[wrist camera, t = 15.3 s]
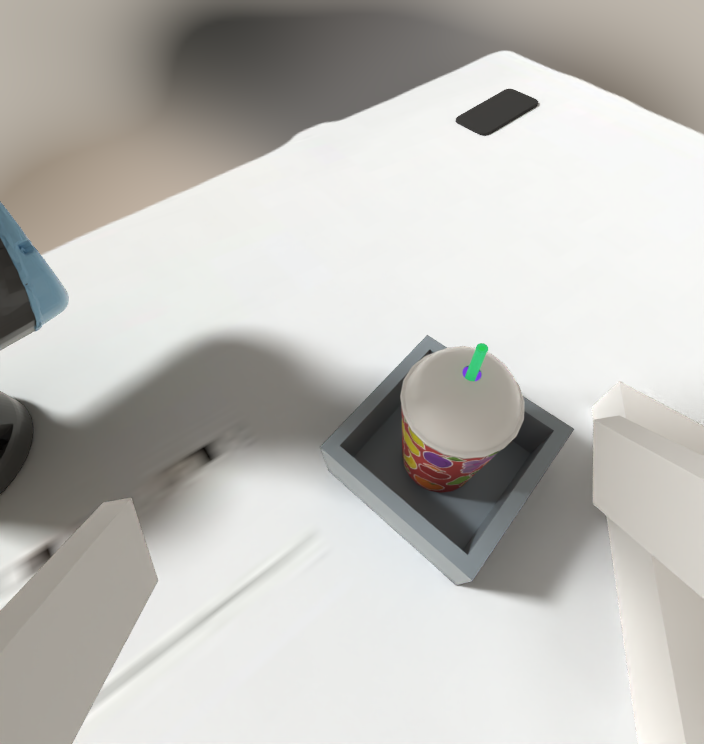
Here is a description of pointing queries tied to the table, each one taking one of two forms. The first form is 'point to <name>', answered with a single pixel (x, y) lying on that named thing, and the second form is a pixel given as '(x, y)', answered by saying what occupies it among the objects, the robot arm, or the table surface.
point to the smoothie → (457, 415)
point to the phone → (496, 112)
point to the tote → (433, 509)
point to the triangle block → (658, 601)
